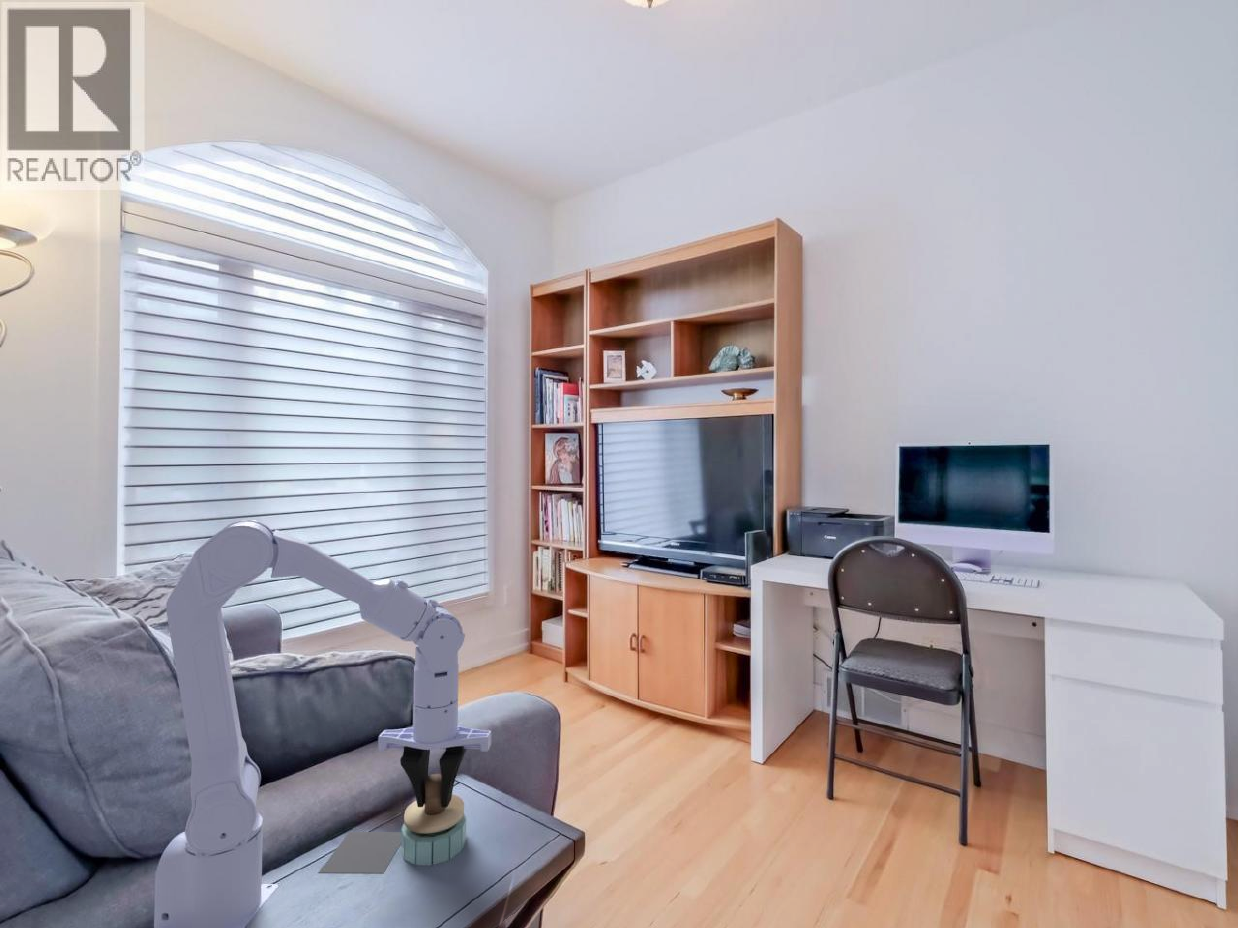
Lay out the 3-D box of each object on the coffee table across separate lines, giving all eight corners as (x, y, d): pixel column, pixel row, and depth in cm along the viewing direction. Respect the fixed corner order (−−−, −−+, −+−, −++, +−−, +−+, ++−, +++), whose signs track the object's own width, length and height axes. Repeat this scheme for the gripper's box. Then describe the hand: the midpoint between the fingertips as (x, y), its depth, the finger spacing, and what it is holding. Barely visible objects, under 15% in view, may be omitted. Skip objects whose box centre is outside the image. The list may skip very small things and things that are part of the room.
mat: (318, 875, 70) (318, 872, 70) (349, 834, 78) (349, 831, 78) (383, 875, 70) (383, 872, 70) (407, 835, 78) (407, 832, 78)
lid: (394, 832, 72) (394, 794, 72) (417, 798, 79) (417, 763, 79) (453, 833, 72) (454, 795, 72) (471, 799, 79) (471, 764, 79)
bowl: (392, 867, 71) (392, 841, 71) (415, 828, 79) (415, 805, 79) (455, 868, 71) (455, 842, 71) (472, 828, 79) (472, 805, 79)
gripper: (496, 689, 80) (495, 786, 79) (393, 688, 80) (392, 786, 79) (484, 709, 73) (483, 816, 72) (371, 708, 73) (370, 816, 72)
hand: (434, 802), depth 75 cm, fingers closed on lid, 2 cm apart
